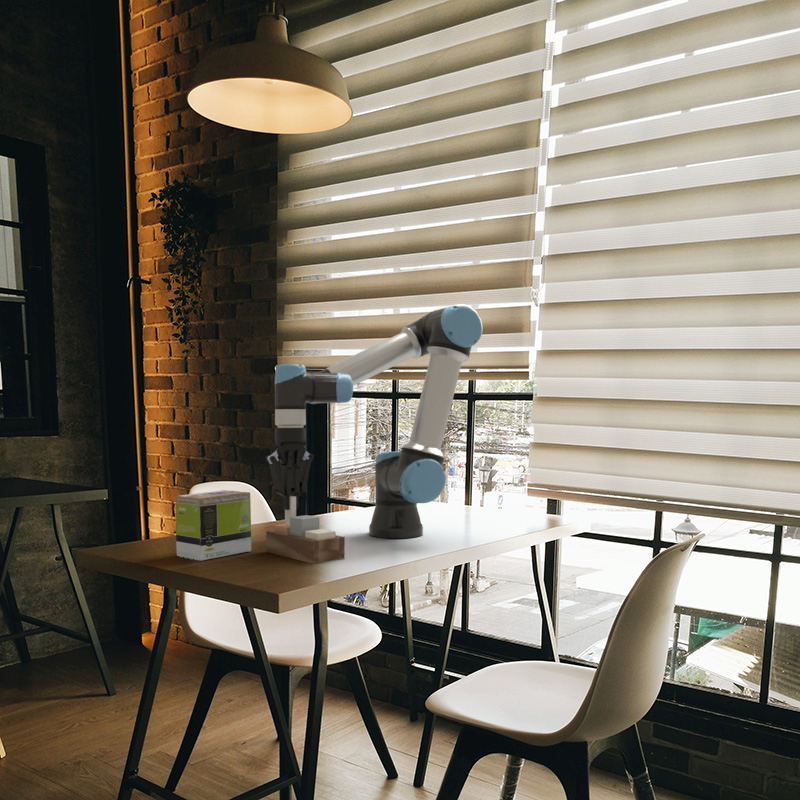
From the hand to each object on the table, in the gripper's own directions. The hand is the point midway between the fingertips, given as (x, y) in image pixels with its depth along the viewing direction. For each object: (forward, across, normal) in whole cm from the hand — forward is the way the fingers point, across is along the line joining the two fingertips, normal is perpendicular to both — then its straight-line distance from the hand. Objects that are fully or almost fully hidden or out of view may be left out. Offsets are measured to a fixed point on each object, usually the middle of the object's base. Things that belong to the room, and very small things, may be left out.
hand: (290, 522), depth 178 cm
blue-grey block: (+4, 0, +6) cm, 7 cm away
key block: (+7, 0, +6) cm, 9 cm away
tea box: (+7, +16, -9) cm, 20 cm away
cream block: (+6, 0, +13) cm, 14 cm away
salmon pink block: (+6, 0, 0) cm, 6 cm away
